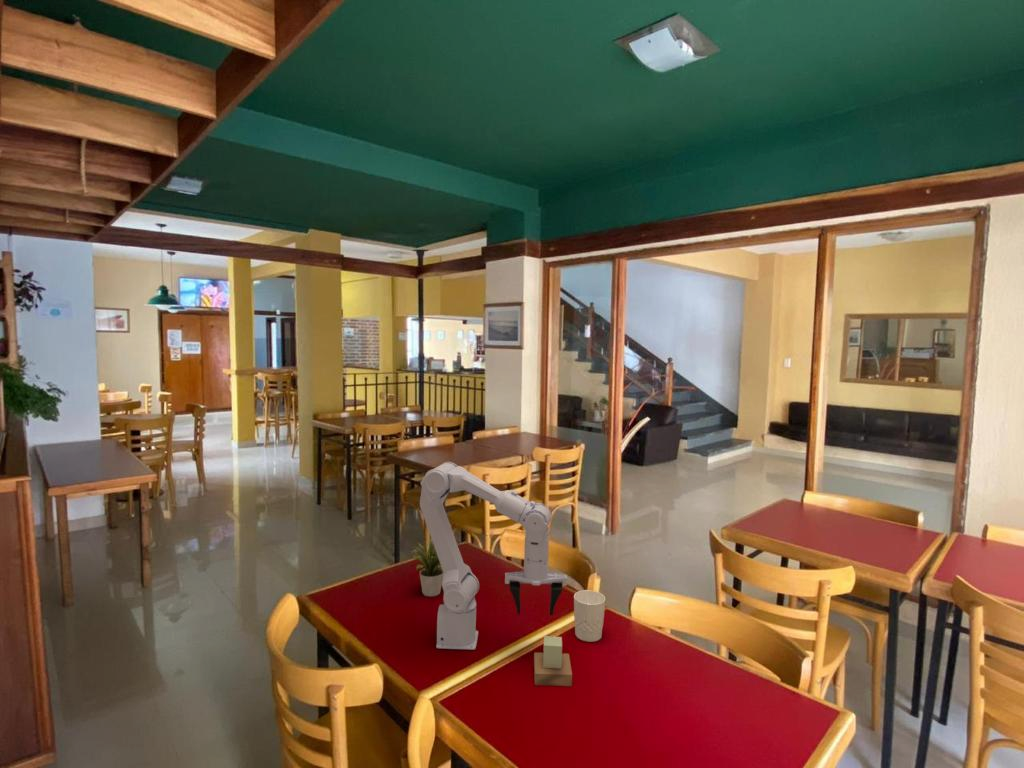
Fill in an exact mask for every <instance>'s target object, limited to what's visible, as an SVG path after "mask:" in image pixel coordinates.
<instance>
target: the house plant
mask: <svg viewBox="0 0 1024 768" xmlns="http://www.w3.org/2000/svg"><path fill="white" fill-rule="evenodd" d="M417 544H418V545H419V547H416V549H414V550H413V551H412V553H413V552H414V553H417V554H418V555H414V556H413V557H412V558H414V559H415V560H417V561H419V562H421V564H420V563H419V564H417V565H416V570H415V571H418V570H420V569H421V570H420V571H419V579H420V585H421V592H422V594H423V595H424V596H425V597H437V596H438V595H440V593H441V591H442V590H441V589H442V581H443V574H444V573H443V570H442V567H441V564H440V561H439V558H438V555H437V553H436V550H435V547H434V544H433V541H432V538H431V537H430V538H429V544H428V545H429V546H428V550H427V548H426V547H425V546H423V545H422V544H421V543H419V542H417Z"/></svg>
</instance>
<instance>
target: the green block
mask: <svg viewBox="0 0 1024 768" xmlns="http://www.w3.org/2000/svg"><path fill="white" fill-rule="evenodd" d="M543 653H544V654H543V668H558V669H561V665H562V653H563V637H562V636H551V635H544V636H543Z"/></svg>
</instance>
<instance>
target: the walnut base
mask: <svg viewBox="0 0 1024 768" xmlns="http://www.w3.org/2000/svg"><path fill="white" fill-rule="evenodd" d="M533 654H534V655H533V669H534V670H533V671H534V673H533V675H534V685H535V686H557V687H559V686H560V687H563V686H564V687H573V671H572V666H571V659H570V658H571V657H570V653H563V652H562V665H561V669H558V668H543V654H544V652H534V653H533Z"/></svg>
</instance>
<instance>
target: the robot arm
mask: <svg viewBox="0 0 1024 768" xmlns="http://www.w3.org/2000/svg"><path fill="white" fill-rule="evenodd" d="M420 486H421V492H420V499H419V508H420V510H421V513H422V516H423V519H424V521H425V524H426V527H427V529H428V532H429V535H430V538H432V541H433V544H434V550H436V553H437V555H438V558H439V561H440V563H439V564H441V567H442V570H443V573H444V574H443V579H442V585H441V588H442V590H443V599H442V600H443V604H439V606H438V609H437V610H438V611H437V619H436V645H435V646H436V649H447V650H470V651H471V650H472V651H473V650H476V649H477V648H476V647H477V643H478V637H479V630H477V628H476V626H477V625H476V623H477V601H476V597H475V596H476V595H477V593H479V590H480V582H479V579H478V577H476V575H475V574H474V573H473V572H472V569H471V567H470V566H469V565H468V564H466V563H464V559H463V557H462V553H461V550H460V549H459V547H458V543H457V539H456V538H455V534H454V532H453V528H452V525H451V523H450V520H449V517H448V514H447V512H446V510H445V506H444V502H445V500H446V498H447V497H448V494H450V493H455V492H456V493H458V492H462V491H465V492H468V493H470V494H471V495H473V496H476V497H478V498H480V499H482V500H484V501H487V502H488V503H491V504H493V506H494V507H495V509H496V510H495V511H496V512H497V513H499V514H501V515H503V516H504V517H507V518H508V519H510V520H512V521H514V522H515V523H517V524H519V525H522V528H523V530H524V531H525V534H524V535H525V537H524V553H523V554H524V557H523V560H524V562H523V570H521V571H513V572H505V573H504V575H505V577H504V584H505V585H507V584H508V585H509V591H510V594H511V596H512V597H513V600H514V603H515V606H516V612H517V613H516V614H517V615H521V584H531V585H532V586H541V585H550V600H549V616H553V615H554V611H555V607H556V605H557V602H558V599H559V598H560V596H561V594H562V591H563V587H564V586H565V587H567V585H568V577H567V574H565V573H564V574H563V573H556V572H552V571H551V572H550V571H549V557H550V556H549V554H550V552H549V551H550V536H549V535H550V532H549V531H550V530H549V529H550V527H549V525H550V523H551V520H552V513H551V511H550V508H549V507H548V506H546V505H545V504H544V503H542V502H541V503H540V502H535V501H534V500H531V501H530V500H528V499H526V498H525V497H523V496H520V495H519V494H518V491H516V490H514V489H513V490H512V491H511V490H509V489H508V490H507V489H506V490H502V491H501V490H499V489H497V488H495V487H494V486H492V485H491V484H489V483H488V482H486V481H484V480H482V478H481V479H480V478H479V477H477V476H476V475H474V474H473V473H471V472H469V471H468V470H467V469H466V468H465V467H463V466H460V465H457V464H456V463H454V462H451V461H445V462H443V463H441V464H440V465H439V466H436V467H435V468H433V469H429V470H428V471H427V472H426V473H425V475H424V476H423V478H422V479H421V481H420Z"/></svg>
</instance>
